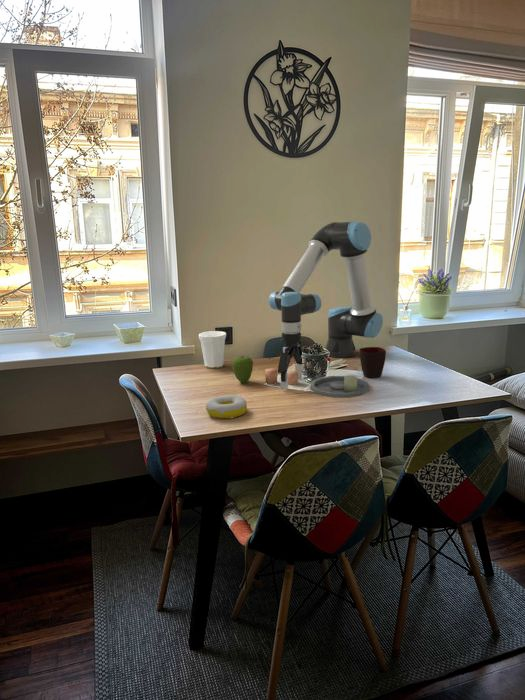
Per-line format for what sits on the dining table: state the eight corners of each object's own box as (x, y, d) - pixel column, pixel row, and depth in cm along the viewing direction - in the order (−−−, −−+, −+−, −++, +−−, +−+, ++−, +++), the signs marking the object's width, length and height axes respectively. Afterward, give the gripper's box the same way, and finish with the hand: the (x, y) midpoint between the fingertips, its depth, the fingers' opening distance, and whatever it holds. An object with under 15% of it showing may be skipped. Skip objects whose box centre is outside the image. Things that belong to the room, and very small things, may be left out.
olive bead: (341, 390, 191) (341, 376, 189) (352, 389, 192) (352, 375, 191) (348, 394, 186) (348, 380, 185) (359, 392, 188) (359, 378, 187)
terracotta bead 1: (263, 382, 207) (263, 369, 206) (274, 380, 209) (274, 367, 208) (268, 385, 203) (267, 372, 202) (279, 383, 205) (278, 370, 203)
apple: (244, 377, 214) (243, 351, 211) (258, 381, 208) (257, 354, 205) (228, 382, 208) (227, 355, 205) (242, 386, 202) (241, 359, 199)
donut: (205, 421, 168) (204, 407, 166) (207, 407, 181) (206, 394, 180) (247, 419, 168) (246, 405, 167) (246, 405, 182) (246, 392, 180)
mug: (365, 382, 203) (366, 353, 200) (352, 373, 216) (353, 345, 213) (388, 380, 204) (389, 351, 202) (374, 371, 218) (375, 344, 215)
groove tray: (301, 385, 201) (300, 380, 200) (348, 378, 209) (348, 373, 208) (328, 403, 181) (328, 397, 181) (379, 394, 189) (379, 388, 188)
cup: (196, 369, 228) (194, 336, 225) (206, 361, 240) (205, 330, 236) (221, 370, 225) (220, 337, 221) (231, 363, 236) (229, 331, 233)
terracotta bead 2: (284, 384, 203) (283, 371, 202) (294, 383, 205) (294, 370, 203) (289, 388, 199) (288, 374, 197) (300, 386, 200) (300, 373, 199)
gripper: (286, 339, 184) (286, 394, 189) (312, 326, 205) (312, 376, 210) (268, 337, 187) (269, 391, 192) (295, 325, 209) (296, 374, 214)
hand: (291, 384), depth 201 cm, fingers open, 13 cm apart
